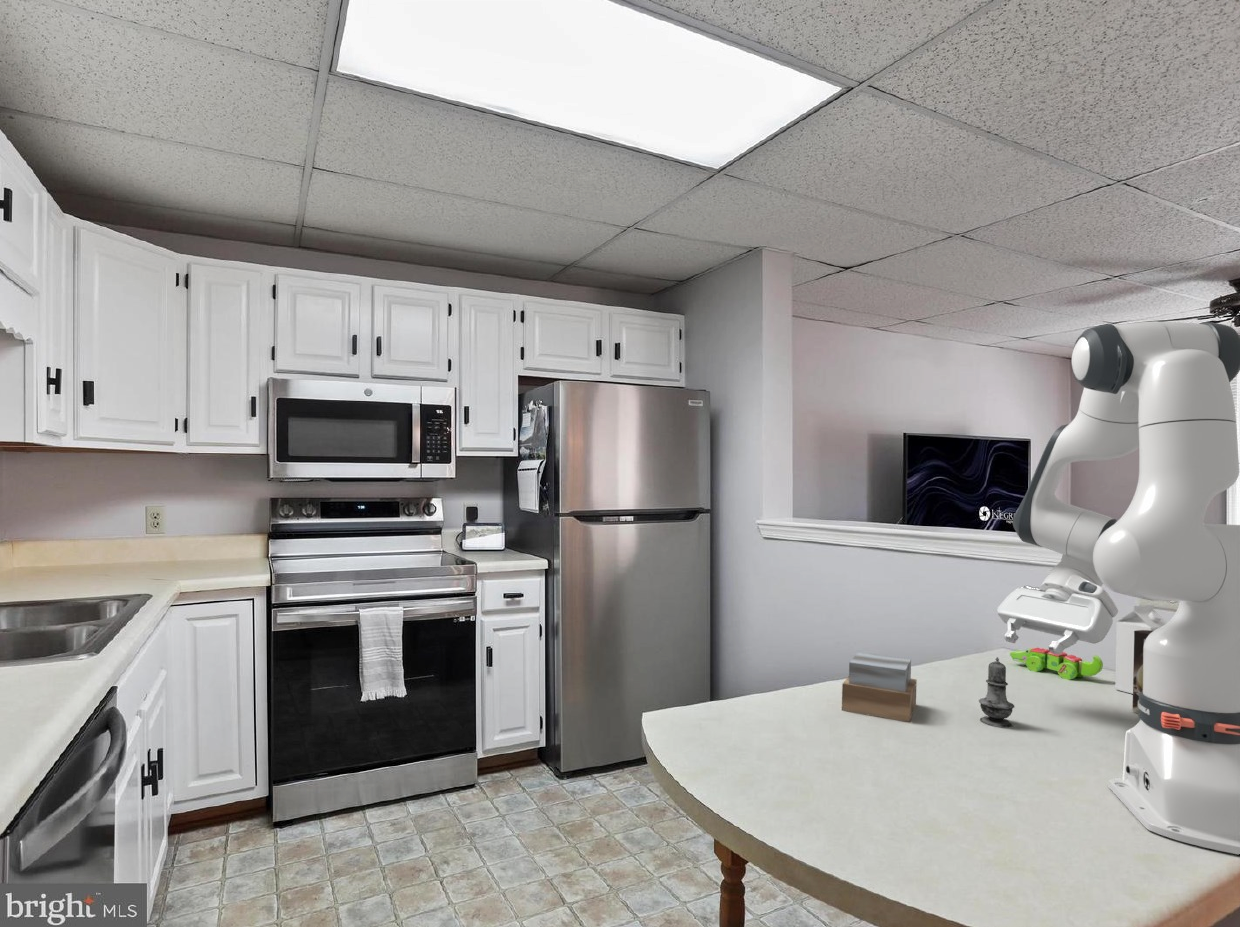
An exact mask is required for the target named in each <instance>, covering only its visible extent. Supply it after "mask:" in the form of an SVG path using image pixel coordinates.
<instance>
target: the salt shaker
mask: <svg viewBox="0 0 1240 927" xmlns="http://www.w3.org/2000/svg"><path fill="white" fill-rule="evenodd" d="M987 670H988V671H987V673H988V676H987V679H986V680H985V682H986V683H987V691H986V692H987V693H986V696H985V697H983V698H980V699H978V702H979V704H980V706H979V707H980V709H981V711H982V712H983V713H984V714H985V716H982V717H981V718H980V719H979V721H980V722H981V723H983V724H984V725H987V726H992V727H995V728H1004V729H1005V728H1011V727H1013V723H1012V722H1011V721H1009V720H1008V719H1007V718H1009V717H1010V716H1011V715H1012V713H1013V709H1014V708H1015V704H1013V703H1012V702H1010V701H1009V700H1008V698H1007V686H1008V685H1009V683H1008V682H1007V679H1006V677H1007V674H1006V673H1007V668H1006V665H1004V664H1003V663H1001V662H1000V658H999V657H998V656H996V658H995V660H994V661H993V662H990V663H989V664H988V669H987Z"/></svg>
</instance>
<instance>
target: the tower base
mask: <svg viewBox="0 0 1240 927" xmlns="http://www.w3.org/2000/svg"><path fill="white" fill-rule="evenodd" d="M848 667H849V668H848V676H847V677H846V678H845V680H844V681H843V682H842V684H841V685H842V686H841V690H842V691H841V711H843V710H845V711H844V712H850V713H856V714H861V715H866V714H869V715H868V716H872V715H874V716H873V717H878V716H879V718H883V717H884V718H885V719H890V720H895V721H896V720H897V721H901V720H902V721H901V722H906V723H909V722H910V721H911V720H912V716H913V714H914V711H915V709H916V706H917V681H918V680H917V679H916V678H912V677H911V674H912V659H911V658H905V657H904V658H903V657H899V656H898V657H896V656H891V655H890V656H888V655H882V654H875V653H874V654H873V653H867V652H860V651H858V652H857V653H856V654H855V655H854V656H853V658H851V659H850V661H849V664H848Z"/></svg>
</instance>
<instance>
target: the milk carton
mask: <svg viewBox="0 0 1240 927" xmlns="http://www.w3.org/2000/svg"><path fill="white" fill-rule="evenodd" d="M1154 606H1155V605H1154V604H1143V605H1141V604H1140V605H1133V607H1132V610H1133V611H1131V612H1130V613H1127V614H1126V615H1125V616H1123V617H1121V618H1120V619H1119V620H1117V621H1116V630H1115V631H1116V632H1115V635H1116V638H1115V639H1116V640H1115V683H1114V684H1115V686H1114V688H1115V690H1116V691H1121V692H1124V693H1127V694H1130V695H1133V667H1134V631H1137V630H1150V631H1152V630H1156V629H1158V628H1160V627H1162V626H1164V625H1165V624H1166V623H1168V622H1167V621H1166V620H1165V619H1164V618H1163V617H1162V616H1161V615H1160V614H1159V613H1158V612H1157V611H1156V610H1155V608H1154Z"/></svg>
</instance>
